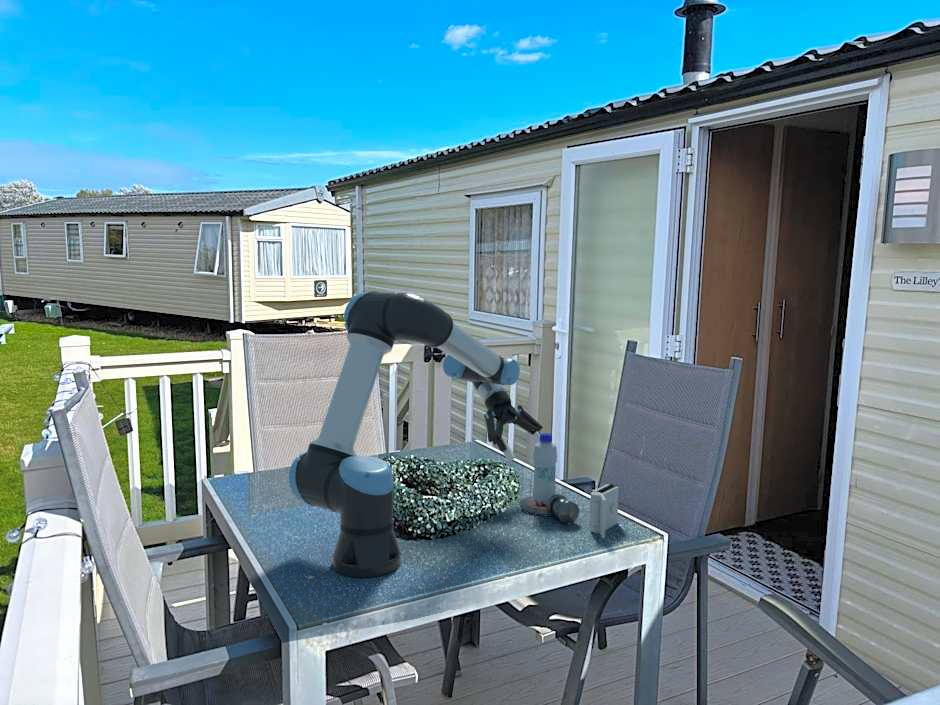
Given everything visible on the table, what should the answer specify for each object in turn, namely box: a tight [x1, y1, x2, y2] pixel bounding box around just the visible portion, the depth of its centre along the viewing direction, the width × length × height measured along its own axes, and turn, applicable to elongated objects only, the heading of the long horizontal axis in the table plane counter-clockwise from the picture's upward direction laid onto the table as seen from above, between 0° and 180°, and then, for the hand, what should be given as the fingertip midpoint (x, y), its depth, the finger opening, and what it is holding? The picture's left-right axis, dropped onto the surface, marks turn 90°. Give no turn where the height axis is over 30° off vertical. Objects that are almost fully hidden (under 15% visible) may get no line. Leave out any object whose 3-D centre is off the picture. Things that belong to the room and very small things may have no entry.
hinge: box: [589, 483, 620, 539], centre depth 174 cm, size 14×5×10 cm, turn 153°
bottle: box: [532, 432, 558, 506], centre depth 189 cm, size 7×7×20 cm
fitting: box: [519, 493, 580, 525], centre depth 187 cm, size 21×14×6 cm
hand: (529, 456), depth 194 cm, fingers open, 13 cm apart
